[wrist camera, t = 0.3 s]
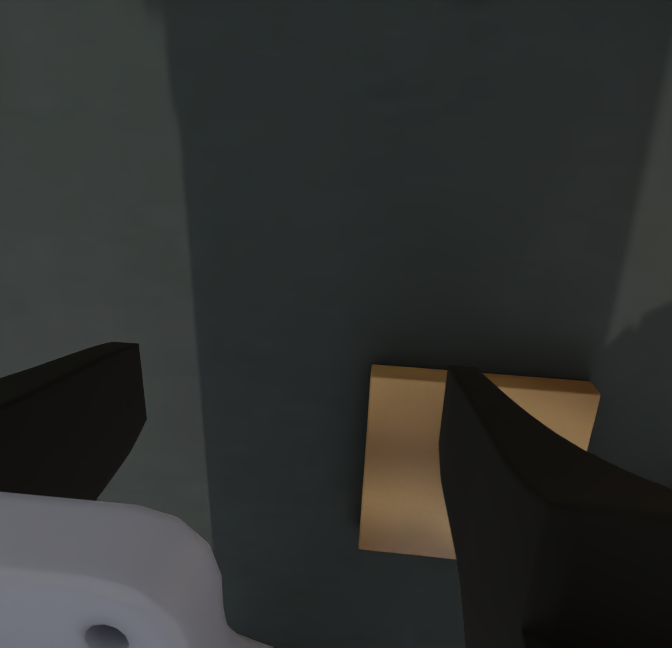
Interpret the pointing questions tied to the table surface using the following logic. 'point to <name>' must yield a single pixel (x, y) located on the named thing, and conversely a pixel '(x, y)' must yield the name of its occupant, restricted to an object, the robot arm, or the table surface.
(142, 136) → the table surface
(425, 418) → the rack
